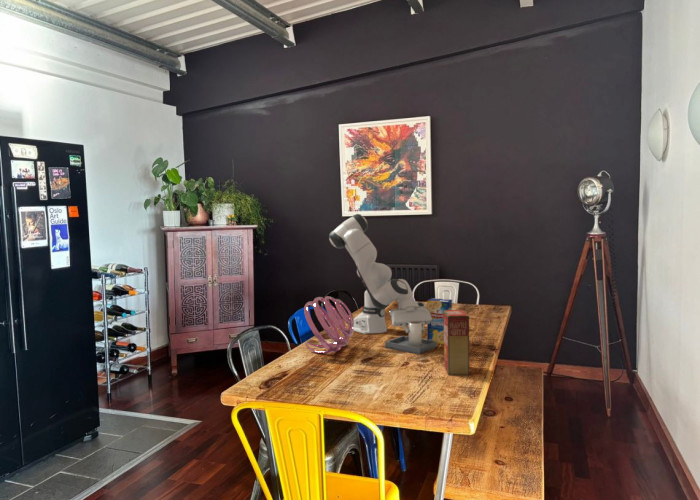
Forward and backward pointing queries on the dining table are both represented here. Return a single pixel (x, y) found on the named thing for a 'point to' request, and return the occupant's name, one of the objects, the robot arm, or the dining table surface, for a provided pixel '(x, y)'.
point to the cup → (415, 333)
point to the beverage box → (437, 318)
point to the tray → (403, 345)
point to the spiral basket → (330, 323)
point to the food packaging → (456, 342)
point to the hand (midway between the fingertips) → (415, 331)
